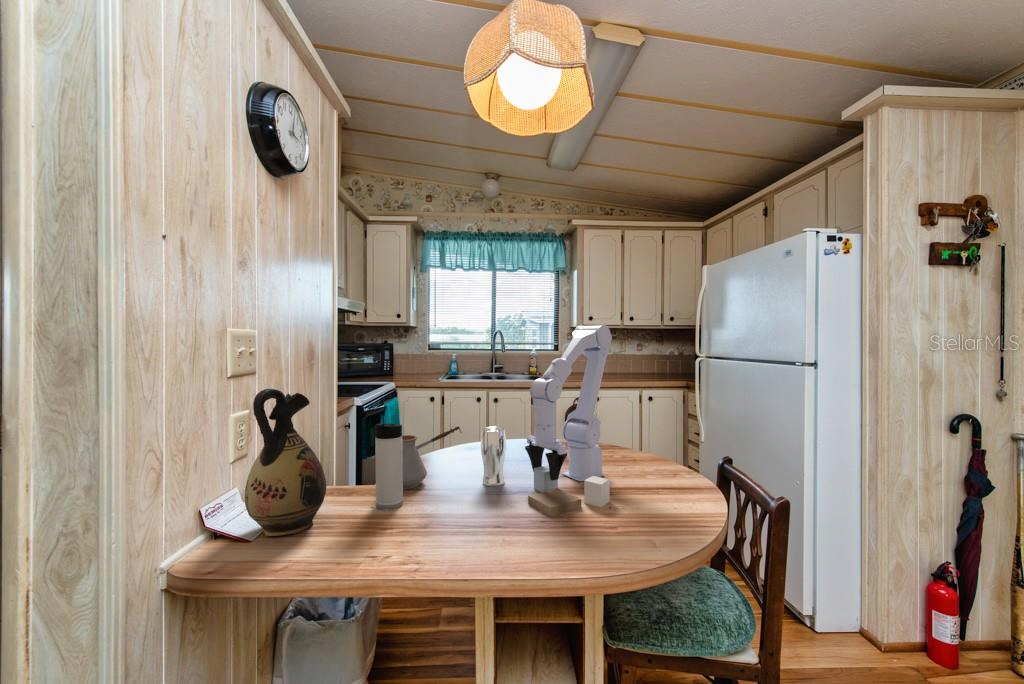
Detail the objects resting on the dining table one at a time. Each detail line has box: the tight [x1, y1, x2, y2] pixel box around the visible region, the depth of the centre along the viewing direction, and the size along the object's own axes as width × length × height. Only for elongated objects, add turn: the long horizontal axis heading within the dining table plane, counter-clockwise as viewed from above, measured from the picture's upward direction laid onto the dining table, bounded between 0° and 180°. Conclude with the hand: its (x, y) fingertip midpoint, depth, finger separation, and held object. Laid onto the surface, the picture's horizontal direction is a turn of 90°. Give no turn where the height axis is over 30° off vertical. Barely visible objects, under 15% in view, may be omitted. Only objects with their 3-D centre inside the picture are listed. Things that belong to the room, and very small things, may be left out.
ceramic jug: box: [244, 388, 327, 537], centre depth 91 cm, size 17×15×30 cm
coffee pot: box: [402, 426, 463, 490], centre depth 120 cm, size 21×12×15 cm, turn 107°
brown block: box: [527, 487, 582, 517], centre depth 103 cm, size 9×9×2 cm
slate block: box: [533, 464, 559, 493], centre depth 114 cm, size 4×4×6 cm
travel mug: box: [374, 423, 404, 511], centre depth 104 cm, size 6×7×20 cm
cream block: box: [583, 476, 611, 508], centre depth 105 cm, size 4×4×6 cm
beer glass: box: [480, 425, 507, 487], centre depth 119 cm, size 7×7×15 cm
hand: (545, 475), depth 114 cm, fingers open, 7 cm apart
